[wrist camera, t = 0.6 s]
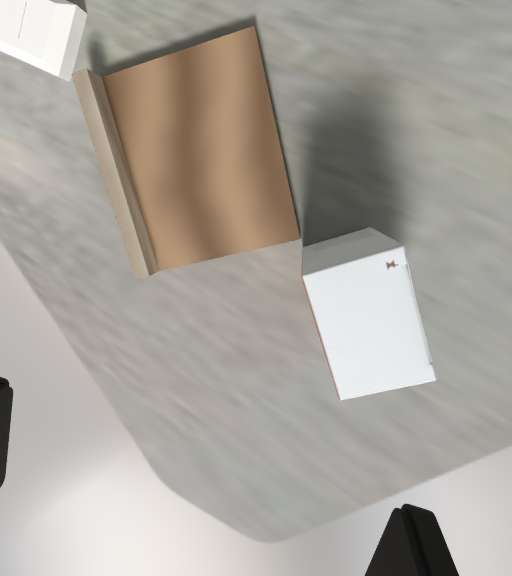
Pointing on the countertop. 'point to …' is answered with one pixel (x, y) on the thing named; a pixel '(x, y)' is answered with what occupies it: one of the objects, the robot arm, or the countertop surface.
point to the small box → (366, 313)
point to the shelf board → (191, 154)
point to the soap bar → (42, 33)
